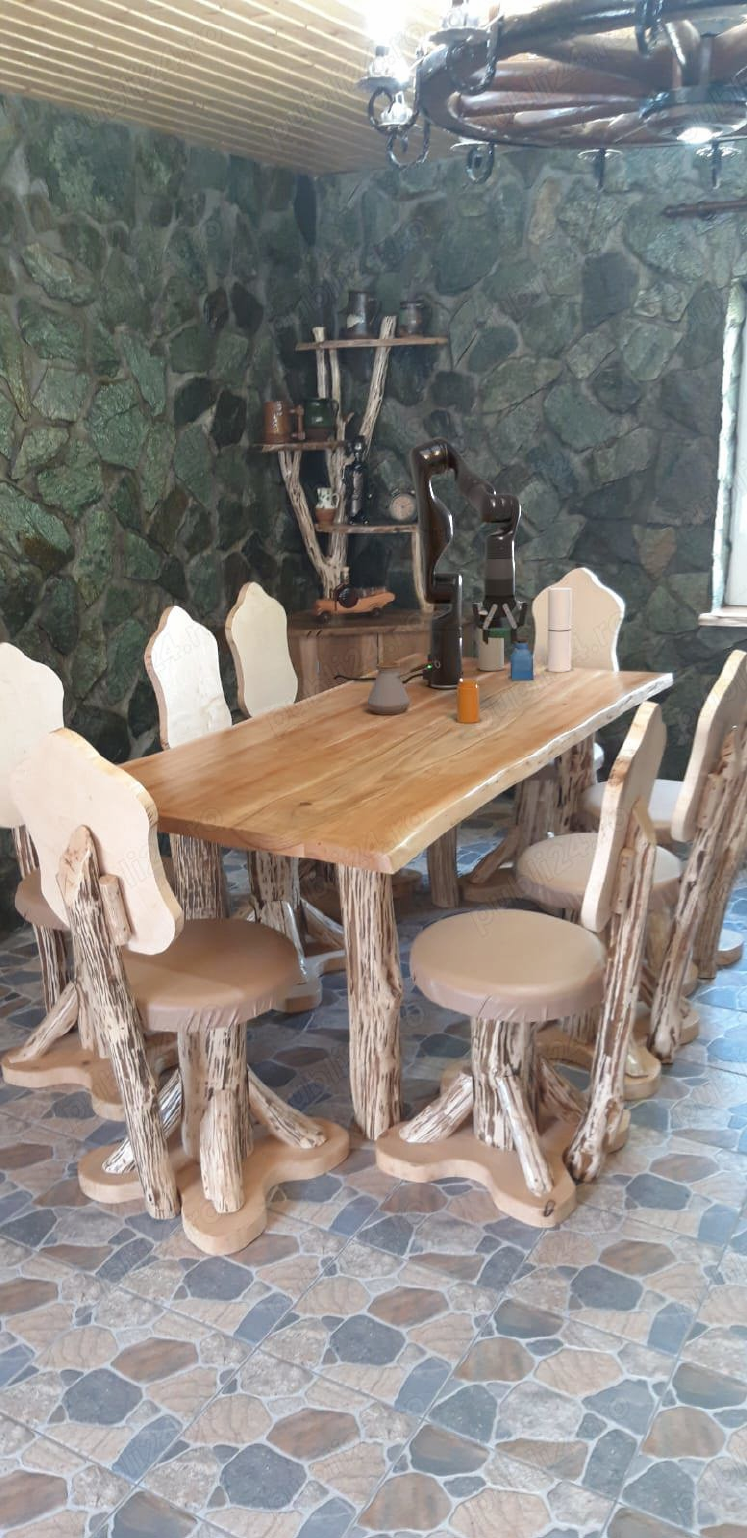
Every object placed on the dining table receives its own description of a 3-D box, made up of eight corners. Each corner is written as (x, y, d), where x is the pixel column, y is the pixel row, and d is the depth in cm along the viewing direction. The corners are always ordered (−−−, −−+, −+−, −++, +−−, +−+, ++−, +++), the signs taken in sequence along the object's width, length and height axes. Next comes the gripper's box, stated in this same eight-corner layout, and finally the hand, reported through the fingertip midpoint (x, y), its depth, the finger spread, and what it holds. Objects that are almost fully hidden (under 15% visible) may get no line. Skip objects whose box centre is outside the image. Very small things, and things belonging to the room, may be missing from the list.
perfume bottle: (533, 679, 352) (533, 639, 349) (512, 680, 352) (512, 640, 349) (530, 675, 358) (531, 636, 355) (510, 676, 358) (510, 637, 355)
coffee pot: (359, 713, 313) (357, 658, 309) (382, 705, 322) (381, 651, 318) (428, 721, 302) (427, 663, 298) (450, 713, 311) (450, 656, 307)
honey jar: (453, 721, 301) (453, 681, 298) (463, 717, 305) (462, 677, 302) (473, 723, 298) (473, 682, 295) (482, 719, 302) (482, 678, 300)
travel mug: (486, 672, 366) (485, 614, 361) (473, 668, 373) (473, 611, 368) (508, 669, 369) (508, 612, 364) (495, 666, 376) (495, 609, 371)
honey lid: (515, 635, 297) (515, 628, 296) (504, 638, 292) (504, 631, 292) (494, 634, 300) (494, 627, 299) (483, 637, 295) (483, 630, 295)
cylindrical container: (547, 671, 363) (547, 590, 357) (547, 667, 370) (548, 587, 364) (570, 671, 362) (571, 590, 356) (570, 667, 369) (571, 587, 362)
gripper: (471, 578, 289) (471, 646, 293) (530, 576, 288) (529, 645, 293) (469, 575, 296) (470, 642, 300) (527, 573, 296) (526, 640, 300)
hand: (499, 643), depth 297 cm, fingers closed on honey lid, 5 cm apart
